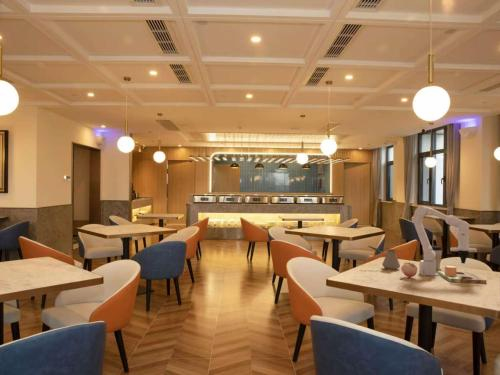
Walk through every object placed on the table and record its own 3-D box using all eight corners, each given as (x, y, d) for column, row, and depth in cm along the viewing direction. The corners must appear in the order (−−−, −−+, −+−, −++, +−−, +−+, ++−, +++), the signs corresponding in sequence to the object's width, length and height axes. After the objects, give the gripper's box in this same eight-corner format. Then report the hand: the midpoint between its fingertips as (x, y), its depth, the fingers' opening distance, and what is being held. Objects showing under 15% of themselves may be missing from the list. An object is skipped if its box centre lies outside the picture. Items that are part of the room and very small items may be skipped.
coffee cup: (444, 269, 271) (444, 247, 271) (429, 269, 273) (429, 247, 273) (440, 267, 280) (440, 245, 280) (426, 266, 282) (426, 245, 282)
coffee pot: (399, 268, 274) (400, 246, 274) (400, 271, 263) (400, 248, 264) (367, 265, 282) (368, 244, 282) (366, 268, 271) (367, 246, 271)
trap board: (449, 281, 234) (449, 278, 234) (437, 273, 257) (437, 270, 257) (486, 283, 231) (486, 280, 231) (471, 275, 254) (471, 272, 254)
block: (447, 275, 243) (447, 267, 243) (444, 273, 248) (445, 265, 248) (456, 275, 242) (456, 267, 242) (453, 274, 247) (453, 266, 247)
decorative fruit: (420, 278, 242) (420, 262, 242) (411, 279, 238) (412, 263, 238) (407, 275, 250) (407, 259, 250) (398, 276, 246) (399, 260, 246)
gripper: (453, 241, 242) (452, 263, 242) (478, 242, 239) (478, 264, 239) (449, 239, 249) (448, 261, 249) (474, 240, 246) (473, 262, 246)
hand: (463, 263), depth 245 cm, fingers closed
